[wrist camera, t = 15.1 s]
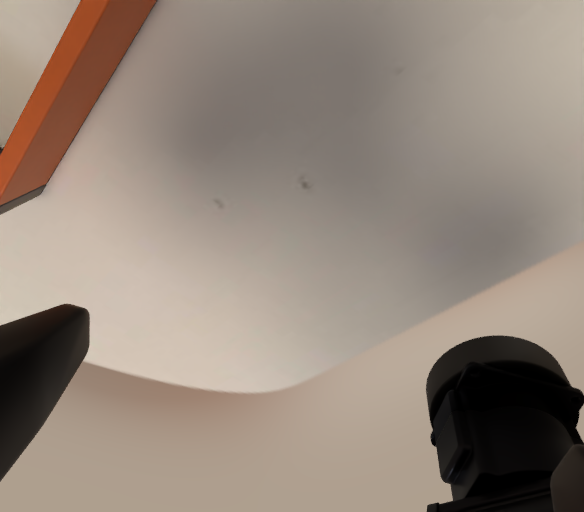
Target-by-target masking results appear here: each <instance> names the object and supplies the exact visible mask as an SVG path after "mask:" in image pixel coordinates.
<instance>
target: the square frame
mask: <svg viewBox="0 0 584 512" xmlns="http://www.w3.org/2000/svg"><path fill="white" fill-rule="evenodd" d="M155 2H156V0H81V1H80V3H79V5H78V7H77V9H76V11H75V13H74V15H73V16H72V18H71V20H70V22H69V24H68V26H67V28H66V30H65V32H64V34H63V36H62V38H61V39H60V41H59V43H58V45H57V47H56V49H55V51H54V53H53V55H52V57H51V59H50V61H49V62H48V64H47V66H46V68H45V70H44V72H43V74H42V76H41V78H40V80H39V82H38V84H37V85H36V87H35V89H34V91H33V93H32V95H31V97H30V99H29V101H28V103H27V105H26V107H25V108H24V110H23V112H22V114H21V116H20V118H19V120H18V122H17V124H16V126H15V128H14V130H13V131H12V133H11V135H10V137H9V139H8V141H7V143H6V145H5V147H4V149H3V150H2V149H1V148H0V215H1V214H3V213H5V212H7V211H9V210H11V209H13V208H15V207H17V206H19V205H21V204H23V203H25V202H27V201H29V200H31V199H33V198H35V197H37V196H39V195H40V193H41V192H42V190H43V188H44V187H45V184H46V183H47V182H48V180H49V178H50V177H51V175H52V173H53V172H54V170H55V168H56V167H57V165H58V163H59V162H60V160H61V158H62V157H63V155H64V153H65V152H66V150H67V148H68V147H69V145H70V143H71V142H72V140H73V138H74V137H75V135H76V133H77V132H78V130H79V128H80V127H81V125H82V123H83V122H84V120H85V118H86V117H87V115H88V113H89V112H90V110H91V108H92V107H93V105H94V103H95V102H96V100H97V98H98V97H99V95H100V94H101V92H102V90H103V89H104V87H105V85H106V84H107V82H108V80H109V79H110V77H111V75H112V74H113V72H114V70H115V69H116V67H117V65H118V64H119V62H120V60H121V59H122V57H123V55H124V54H125V52H126V50H127V49H128V47H129V45H130V44H131V42H132V40H133V39H134V37H135V35H136V34H137V32H138V30H139V29H140V27H141V25H142V24H143V22H144V20H145V19H146V17H147V15H148V14H149V12H150V10H151V9H152V7H153V5H154V4H155Z"/></svg>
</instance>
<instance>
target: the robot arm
mask: <svg viewBox="0 0 584 512" xmlns="http://www.w3.org/2000/svg"><path fill="white" fill-rule="evenodd" d="M89 325H90V317H89V312H88V310H87V309H85V308H82V307H79V306H75V305H71V304H63V305H60V306H57V307H54V308H51V309H48V310H45V311H42V312H39V313H36V314H33V315H30V316H27V317H24V318H21V319H19V320H16V321H13V322H10V323H7V324H4V325H1V326H0V481H1V480H2V479H3V477H4V476H5V475H6V473H7V472H8V471H9V470H10V468H11V467H12V465H13V464H14V463H15V462H16V460H17V459H18V458H19V456H20V455H21V454H22V452H23V451H24V450H25V449H26V447H27V446H28V445H29V443H30V442H31V441H32V439H33V438H34V437H35V435H36V434H37V433H38V431H39V430H40V429H41V427H42V426H43V424H44V423H45V421H46V420H47V418H48V416H49V415H50V413H51V411H52V410H53V408H54V407H55V405H56V403H57V402H58V400H59V399H60V397H61V395H62V394H63V392H64V390H65V389H66V387H67V386H68V384H69V382H70V381H71V379H72V377H73V376H74V374H75V372H76V371H77V369H78V368H79V366H80V364H81V363H82V361H83V359H84V358H85V356H86V354H87V352H88V348H89ZM474 369H477V371H476V372H471V370H474ZM573 397H576V398H574V399H571V398H573ZM583 405H584V395H583V392H582V391H581V390H579V389H577V388H574V387H570V386H566V385H563V384H559V383H555V382H552V381H548V380H544V379H541V378H537V377H533V376H529V375H526V374H522V373H518V372H515V371H511V370H507V369H503V368H500V367H496V366H492V365H489V364H485V363H481V362H478V361H471V362H468V363H467V364H466V365H465V366H464V368H463V370H462V372H461V374H460V376H459V378H458V380H457V382H456V384H455V386H454V388H453V390H450V391H449V392H447V394H446V396H445V398H444V400H443V402H442V404H441V406H440V408H439V410H438V412H437V414H436V416H435V418H434V421H433V426H434V429H433V431H432V433H431V436H430V438H431V443H432V445H433V446H435V447H437V454H438V461H439V468H440V474H441V478H442V480H443V481H444V482H445V483H449V484H451V490H452V496H453V501H451V502H447V503H443V504H439V503H434V504H430V505H428V506H427V512H584V443H583V441H582V439H581V437H580V435H579V433H578V431H577V429H576V427H575V425H574V423H573V419H574V418H575V416H576V415H577V414H578V412H579V411H580V409H581V408H582V406H583Z"/></svg>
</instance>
